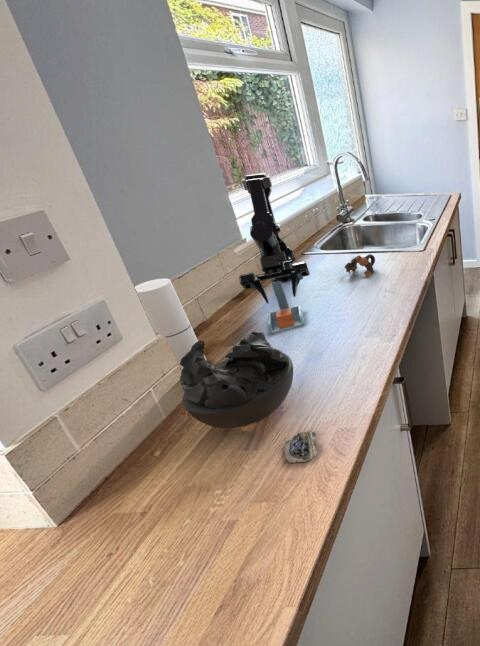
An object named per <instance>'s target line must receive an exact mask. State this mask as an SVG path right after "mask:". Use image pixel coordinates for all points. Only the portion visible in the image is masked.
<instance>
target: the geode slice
mask: <svg viewBox="0 0 480 646" xmlns="http://www.w3.org/2000/svg"><path fill="white" fill-rule="evenodd" d="M316 439H317V437H316V432H314V431H312V430H311V431H306V432H305V431H304V432H302V431H299V432H298V433H297V434H296V435H293V436H292V438H291V439H288V440H287V441H286V440H285V442H284V447H283V452H284V458H285V460H286V461H287V462H288V463H293V464H296V462H297V463H306V462H310V461H312V460H313V459H314V458H315V457H316V456H317V454H318V449H317V446H315V443H316V444H317V442H318V441H317V442H316Z"/></svg>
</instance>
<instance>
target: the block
mask: <svg viewBox="0 0 480 646" xmlns="http://www.w3.org/2000/svg"><path fill="white" fill-rule="evenodd" d="M276 311H277V310H276ZM276 319H277V322H278V325H279V328H280V329H282V328H286V327H289V326H293V325H295V323H294V317H293V314H292V311H291V308H290V307H289V309H285V310H281V311H277V312H276Z"/></svg>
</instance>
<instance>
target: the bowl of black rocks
mask: <svg viewBox="0 0 480 646" xmlns="http://www.w3.org/2000/svg"><path fill="white" fill-rule="evenodd" d="M205 346H206V343H205V340H198V342H196V343H195V344H194V345H193V346H192V347H191V350H190V351H189V352H188V353H186V355H185V356H184V357H182V359H181V361H180V365H181V366H183V369H182V371H181V376H180V379H179V381H180V386H181V388H182V390H183V395H182V406H183V407H184V409H185V410H186V411H187V412H188V414H189V415H190V416H191V417H192V418H194V419H195V420H196V421H198V422H200V423H202V424H204V425H206V426H209V427H213V428H218V429H238V428H239V429H240V428H244V427H249V426H251V425H253V424H256V423H258V422H260V421H262V420H264V419H266V418H267V417H269V416H270V415H272V414H273V413H274V412H275V411H276V410H277V409H278V408H279V407H280V406H281V405H282V404H283V402H284V401H285V399H286V398H287V396H288V394H289V392H290V390H291V388H292V384H293V381H294V365H293V360H292V358H291V357H290V356H289V355H288V354H287V353H285V352H283V351H282V350H280V349H277V348H276V347H275V348H274V347H273V346H271V344H270V343H269V342H268V339H266V336H265V333H264V332H263V331H251V332H250V333H248V334H247V335H245V336H244V337H243V338H242V339H241V340H240V341H239V344H236V345H234V346H233V347H232V348H231V349H232V350H231V351H230V352H228V353H227V354H226V355H224V358H225V360H223V361H221V362H219V363H217V364H214V365H211V364H209V362H208V360H207V358H206V359H205V357H206V356H205V357H204V355H205V353H204V349H205ZM208 364H209V365H208Z"/></svg>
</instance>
